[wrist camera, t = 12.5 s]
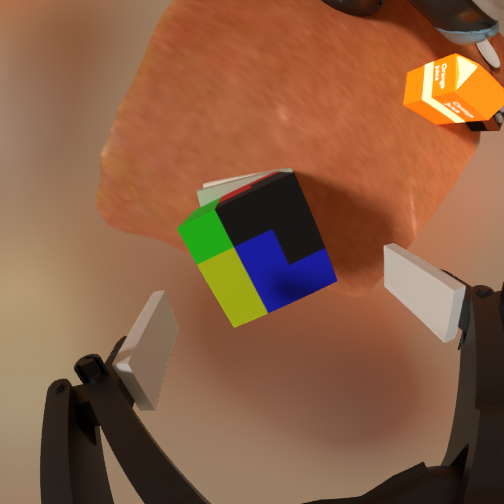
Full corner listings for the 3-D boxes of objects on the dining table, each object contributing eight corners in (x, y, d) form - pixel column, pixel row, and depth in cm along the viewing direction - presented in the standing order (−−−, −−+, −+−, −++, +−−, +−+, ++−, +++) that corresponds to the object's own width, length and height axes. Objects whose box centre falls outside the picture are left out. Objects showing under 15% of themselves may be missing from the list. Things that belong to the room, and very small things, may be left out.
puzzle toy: (309, 248, 33) (337, 280, 23) (234, 283, 33) (234, 327, 24) (275, 171, 30) (293, 172, 20) (195, 209, 30) (177, 228, 21)
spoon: (425, -31, 25) (431, -36, 21) (497, 63, 33) (505, 62, 30) (410, -28, 26) (416, -33, 23) (488, 73, 34) (497, 71, 31)
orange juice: (436, 125, 39) (513, 120, 20) (402, 105, 38) (480, 86, 19) (440, 92, 37) (511, 78, 18) (407, 71, 36) (477, 43, 17)
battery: (460, 117, 38) (493, 114, 29) (469, 99, 37) (500, 95, 27) (471, 132, 39) (503, 132, 30) (479, 114, 38) (509, 112, 28)
